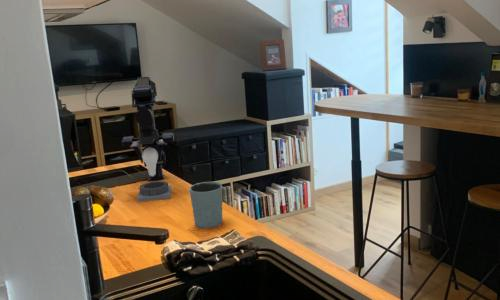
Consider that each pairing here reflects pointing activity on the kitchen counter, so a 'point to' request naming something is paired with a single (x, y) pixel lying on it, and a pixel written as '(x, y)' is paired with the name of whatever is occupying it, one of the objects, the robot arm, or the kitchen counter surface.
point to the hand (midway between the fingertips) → (150, 162)
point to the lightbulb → (150, 160)
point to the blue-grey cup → (207, 204)
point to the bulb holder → (154, 191)
